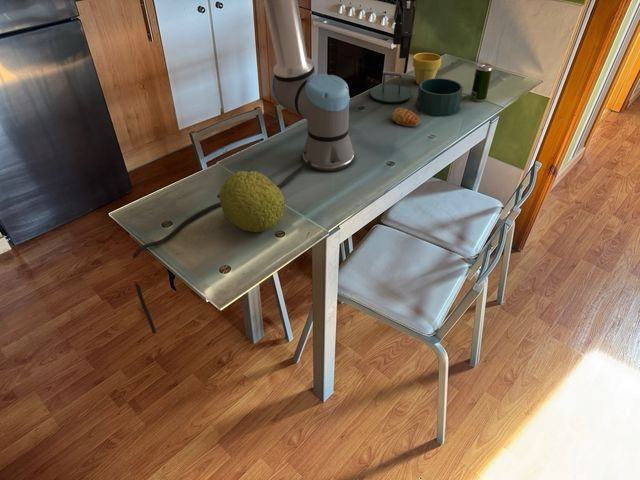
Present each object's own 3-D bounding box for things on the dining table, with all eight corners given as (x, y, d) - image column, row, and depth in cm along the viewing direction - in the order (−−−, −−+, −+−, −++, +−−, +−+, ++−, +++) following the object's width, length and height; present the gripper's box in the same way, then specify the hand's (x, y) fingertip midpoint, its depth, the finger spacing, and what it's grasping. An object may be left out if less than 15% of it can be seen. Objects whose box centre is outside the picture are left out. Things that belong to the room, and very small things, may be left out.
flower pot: (422, 75, 187) (425, 50, 181) (443, 82, 181) (447, 56, 175) (405, 82, 182) (407, 56, 176) (425, 89, 176) (428, 63, 170)
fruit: (298, 212, 119) (295, 184, 105) (262, 254, 115) (254, 231, 101) (250, 177, 123) (241, 146, 109) (213, 217, 119) (199, 190, 105)
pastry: (423, 123, 155) (425, 112, 153) (411, 130, 152) (412, 119, 149) (401, 114, 160) (402, 104, 158) (388, 121, 157) (389, 110, 154)
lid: (407, 106, 165) (409, 82, 160) (365, 101, 169) (366, 77, 164) (415, 90, 176) (418, 66, 171) (375, 85, 180) (377, 62, 175)
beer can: (479, 103, 166) (486, 69, 158) (467, 98, 169) (473, 65, 162) (489, 99, 168) (496, 65, 161) (477, 94, 172) (483, 61, 164)
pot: (455, 118, 157) (459, 97, 152) (413, 113, 161) (415, 92, 156) (461, 101, 168) (464, 80, 163) (421, 96, 172) (423, 76, 167)
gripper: (427, -13, 131) (418, 63, 145) (411, -31, 150) (405, 38, 164) (400, -12, 131) (394, 64, 145) (388, -30, 150) (383, 39, 164)
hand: (400, 51), depth 154 cm, fingers open, 13 cm apart
